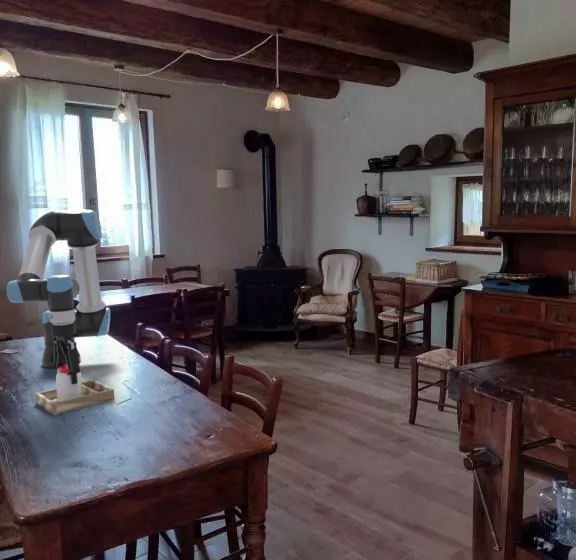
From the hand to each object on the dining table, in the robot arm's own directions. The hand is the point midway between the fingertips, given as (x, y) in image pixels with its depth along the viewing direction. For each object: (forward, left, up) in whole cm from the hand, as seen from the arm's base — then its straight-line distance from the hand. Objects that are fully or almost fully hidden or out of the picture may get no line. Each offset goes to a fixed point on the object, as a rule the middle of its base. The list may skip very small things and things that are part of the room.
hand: (68, 390), depth 186 cm
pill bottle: (0, 0, -3) cm, 3 cm away
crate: (0, +2, -4) cm, 5 cm away
